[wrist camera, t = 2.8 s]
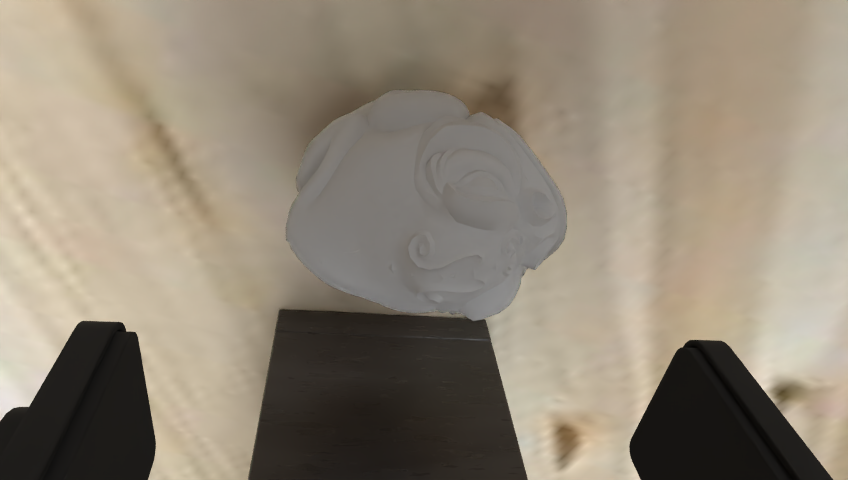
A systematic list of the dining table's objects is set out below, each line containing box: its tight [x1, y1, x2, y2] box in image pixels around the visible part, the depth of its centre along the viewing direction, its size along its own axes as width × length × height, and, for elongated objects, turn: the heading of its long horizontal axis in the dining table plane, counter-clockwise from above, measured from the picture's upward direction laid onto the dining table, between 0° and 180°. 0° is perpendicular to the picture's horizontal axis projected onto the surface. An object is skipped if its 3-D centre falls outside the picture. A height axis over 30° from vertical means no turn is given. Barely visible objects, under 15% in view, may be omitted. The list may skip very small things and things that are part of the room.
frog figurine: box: [286, 90, 567, 321], centre depth 15 cm, size 6×7×7 cm
